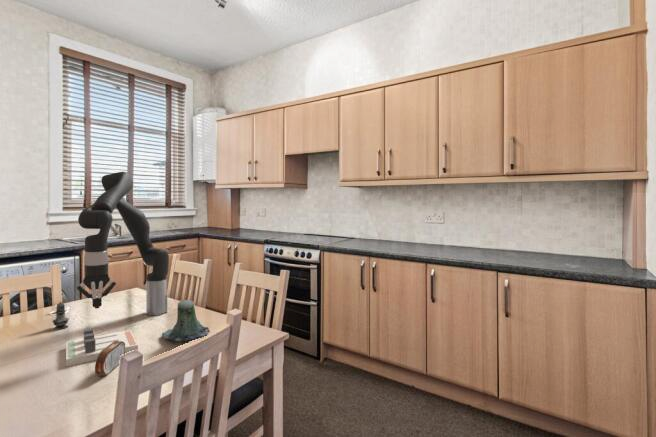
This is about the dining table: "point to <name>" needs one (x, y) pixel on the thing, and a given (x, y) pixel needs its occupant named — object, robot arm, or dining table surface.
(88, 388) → the dining table surface
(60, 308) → the grey chess pawn
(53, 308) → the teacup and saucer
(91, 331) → the block
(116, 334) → the board
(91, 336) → the block
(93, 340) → the block
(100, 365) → the tin
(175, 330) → the green bell-shaped piece
